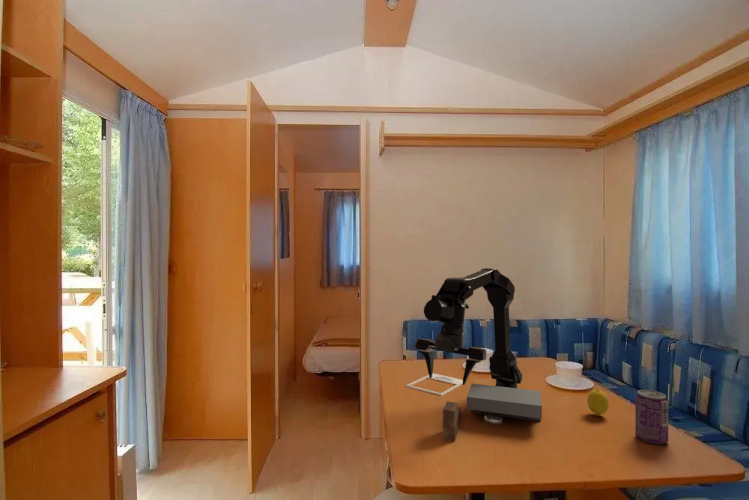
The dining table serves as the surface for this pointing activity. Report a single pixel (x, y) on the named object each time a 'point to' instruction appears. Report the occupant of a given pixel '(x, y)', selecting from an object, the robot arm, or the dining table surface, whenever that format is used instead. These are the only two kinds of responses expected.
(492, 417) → the steel token
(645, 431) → the beverage can
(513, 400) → the grey rectangular block
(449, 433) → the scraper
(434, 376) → the photo frame
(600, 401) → the lemon
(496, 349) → the robot arm
